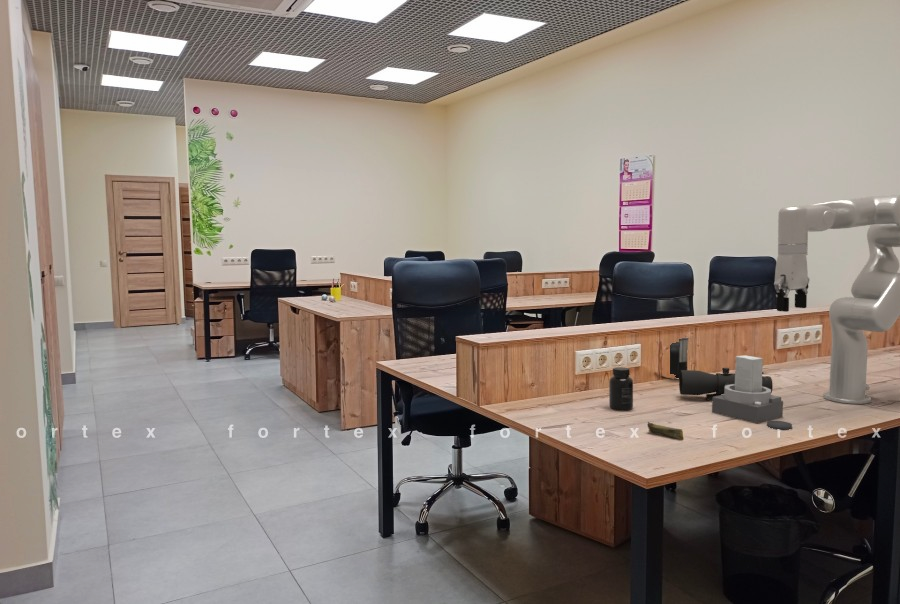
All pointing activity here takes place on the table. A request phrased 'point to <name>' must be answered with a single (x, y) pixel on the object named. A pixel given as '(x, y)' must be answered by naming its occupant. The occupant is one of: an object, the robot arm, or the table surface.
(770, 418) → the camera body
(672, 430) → the snack bar
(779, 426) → the lens cap
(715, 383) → the rifle scope
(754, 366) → the skincare box
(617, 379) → the supplement bottle
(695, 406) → the table surface
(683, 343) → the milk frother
